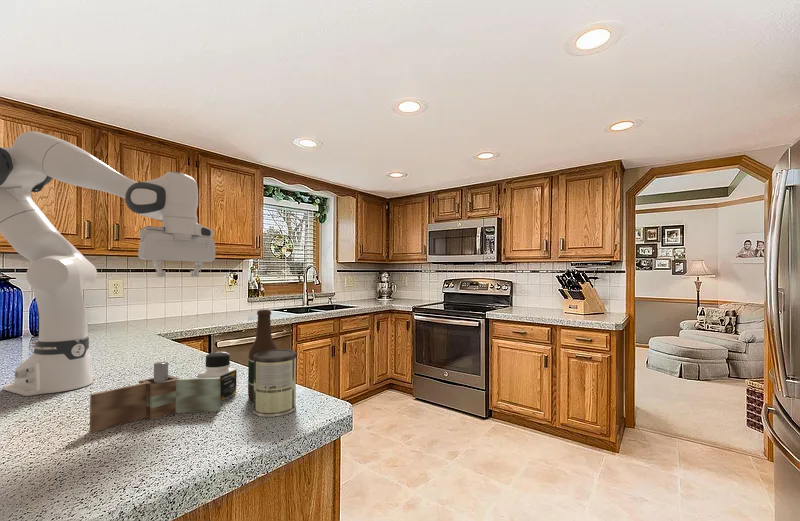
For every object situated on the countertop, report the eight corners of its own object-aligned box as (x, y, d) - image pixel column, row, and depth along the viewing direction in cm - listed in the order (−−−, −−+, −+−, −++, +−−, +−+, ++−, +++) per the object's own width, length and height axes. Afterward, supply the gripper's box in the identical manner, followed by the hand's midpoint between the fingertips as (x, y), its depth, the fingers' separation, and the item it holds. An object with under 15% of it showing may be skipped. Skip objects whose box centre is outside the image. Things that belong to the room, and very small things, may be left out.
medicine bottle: (220, 401, 104) (221, 356, 104) (196, 400, 105) (197, 355, 106) (236, 393, 111) (237, 351, 111) (214, 392, 112) (215, 349, 113)
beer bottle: (260, 405, 101) (261, 312, 102) (241, 399, 105) (242, 310, 106) (284, 396, 108) (285, 309, 109) (265, 392, 112) (266, 308, 113)
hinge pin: (149, 414, 95) (151, 364, 95) (160, 409, 98) (161, 361, 98) (160, 415, 94) (161, 365, 94) (170, 411, 97) (171, 362, 97)
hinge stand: (190, 399, 105) (191, 369, 106) (221, 410, 97) (222, 377, 98) (84, 428, 86) (85, 392, 86) (112, 445, 78) (113, 404, 78)
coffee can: (245, 409, 98) (246, 353, 98) (283, 400, 105) (284, 347, 106) (264, 421, 91) (265, 359, 91) (303, 410, 98) (304, 353, 98)
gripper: (145, 224, 103) (143, 277, 102) (219, 231, 120) (217, 277, 119) (134, 225, 106) (132, 276, 106) (207, 232, 123) (206, 276, 123)
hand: (178, 276), depth 113 cm, fingers open, 8 cm apart
